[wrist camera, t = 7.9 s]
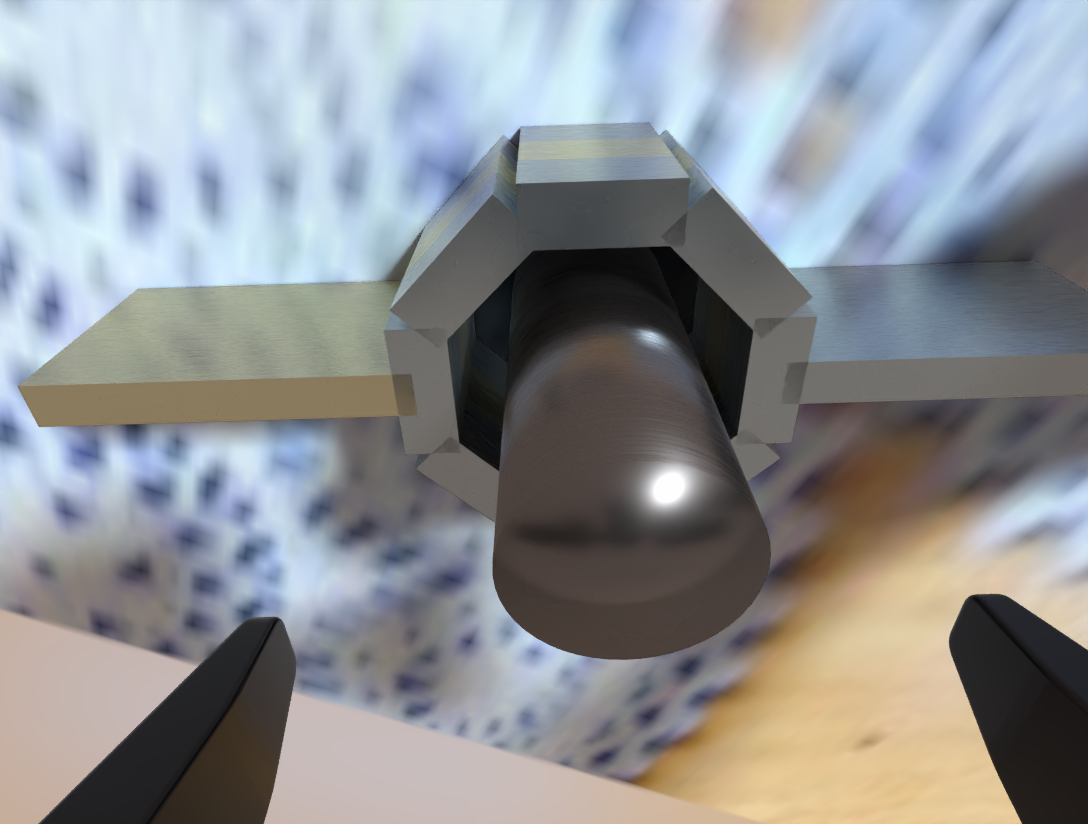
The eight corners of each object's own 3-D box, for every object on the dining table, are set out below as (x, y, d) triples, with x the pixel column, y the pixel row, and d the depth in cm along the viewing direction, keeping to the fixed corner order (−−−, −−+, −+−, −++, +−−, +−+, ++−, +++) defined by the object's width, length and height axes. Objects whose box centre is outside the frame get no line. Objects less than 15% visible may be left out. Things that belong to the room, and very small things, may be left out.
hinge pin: (667, 217, 17) (793, 457, 9) (657, 357, 19) (750, 656, 11) (508, 222, 17) (481, 465, 9) (516, 361, 19) (501, 662, 11)
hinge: (1092, 108, 16) (1294, 157, 12) (977, 410, 20) (1092, 525, 16) (82, 141, 16) (-80, 202, 12) (193, 434, 21) (105, 554, 16)
